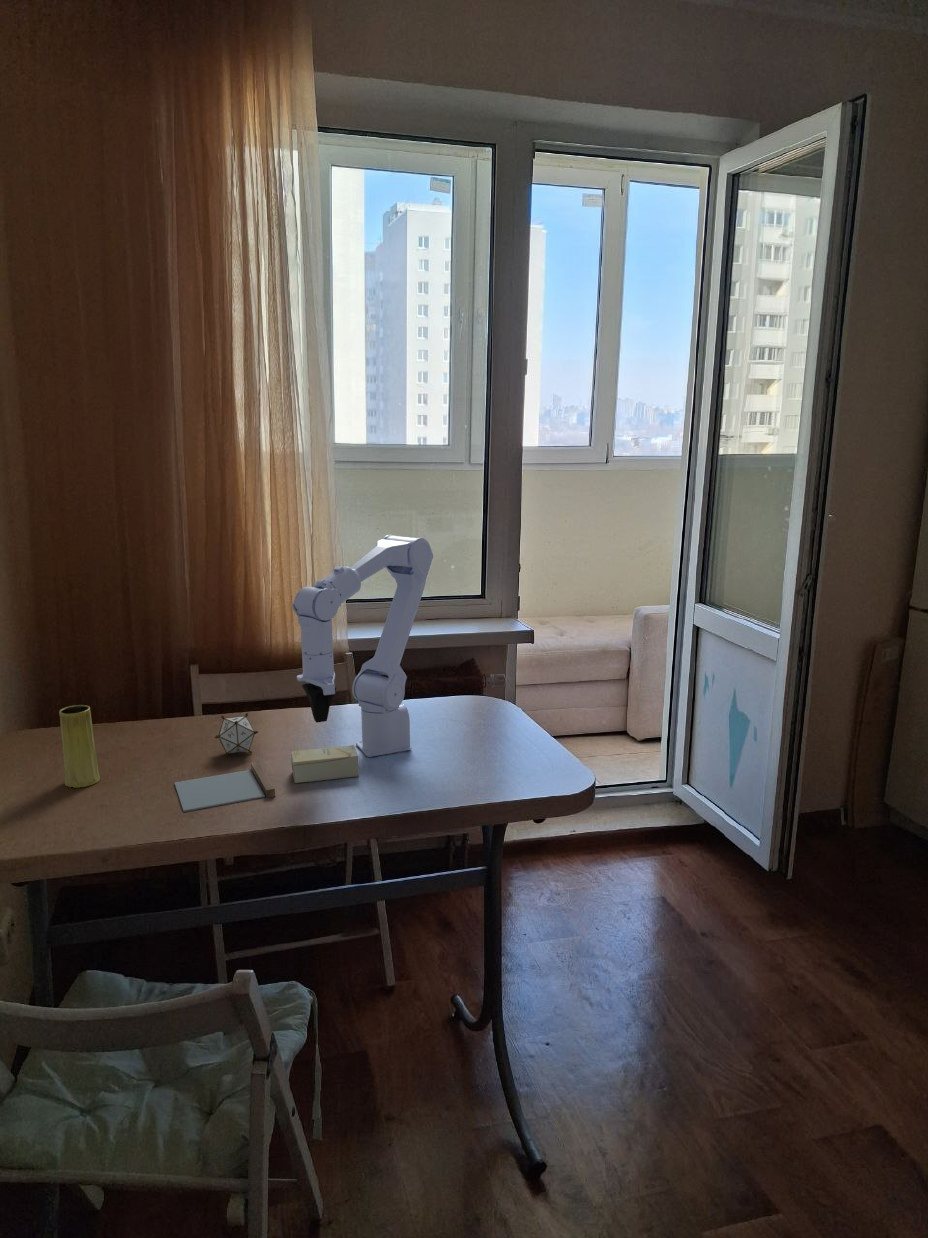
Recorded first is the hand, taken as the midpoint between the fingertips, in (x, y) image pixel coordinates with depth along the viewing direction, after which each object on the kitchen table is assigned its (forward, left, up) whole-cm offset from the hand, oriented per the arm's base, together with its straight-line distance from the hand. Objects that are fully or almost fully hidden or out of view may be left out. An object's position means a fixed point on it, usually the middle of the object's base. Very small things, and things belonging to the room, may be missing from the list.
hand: (320, 720), depth 164 cm
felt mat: (+20, 0, -10) cm, 22 cm away
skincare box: (+6, 0, -8) cm, 10 cm away
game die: (+13, -17, -11) cm, 24 cm away
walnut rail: (+12, 0, -10) cm, 16 cm away
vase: (+42, -15, -11) cm, 46 cm away
